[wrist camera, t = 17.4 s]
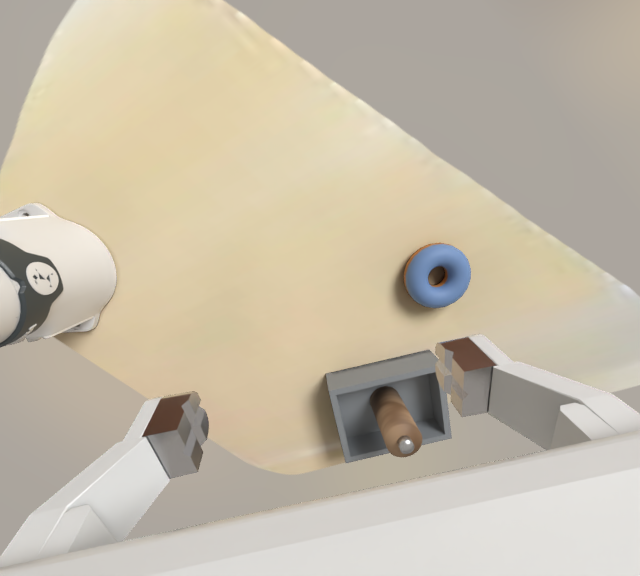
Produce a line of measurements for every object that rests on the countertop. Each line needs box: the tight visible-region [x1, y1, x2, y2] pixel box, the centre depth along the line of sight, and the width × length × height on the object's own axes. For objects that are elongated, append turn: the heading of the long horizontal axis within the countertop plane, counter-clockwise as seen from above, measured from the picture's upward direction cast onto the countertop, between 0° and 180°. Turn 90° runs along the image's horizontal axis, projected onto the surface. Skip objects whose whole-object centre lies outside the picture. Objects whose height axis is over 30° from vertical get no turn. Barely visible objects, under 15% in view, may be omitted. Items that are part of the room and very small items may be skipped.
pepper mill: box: [370, 386, 422, 457], centre depth 47 cm, size 5×5×11 cm
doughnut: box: [404, 243, 471, 308], centre depth 46 cm, size 10×10×5 cm
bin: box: [326, 350, 452, 463], centre depth 51 cm, size 18×14×5 cm
